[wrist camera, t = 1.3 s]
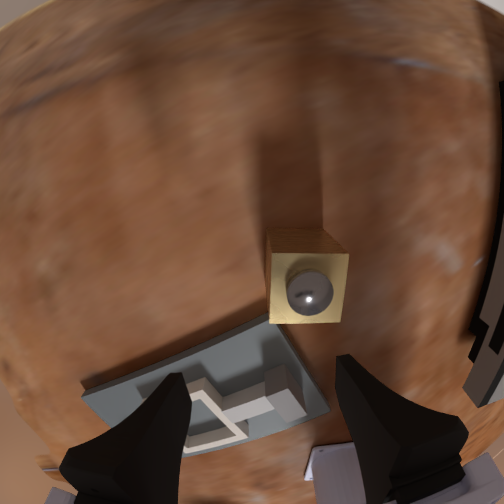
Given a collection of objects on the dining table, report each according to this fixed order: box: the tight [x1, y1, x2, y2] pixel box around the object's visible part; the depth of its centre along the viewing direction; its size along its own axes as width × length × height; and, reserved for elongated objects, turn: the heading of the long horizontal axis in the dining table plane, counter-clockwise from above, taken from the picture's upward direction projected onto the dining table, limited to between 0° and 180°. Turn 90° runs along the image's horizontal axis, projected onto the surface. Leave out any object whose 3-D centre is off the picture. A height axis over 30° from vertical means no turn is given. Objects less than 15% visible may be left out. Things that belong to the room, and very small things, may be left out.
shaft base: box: [81, 312, 331, 458], centre depth 23 cm, size 22×12×4 cm, turn 119°
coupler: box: [265, 228, 349, 324], centre depth 18 cm, size 4×4×7 cm
